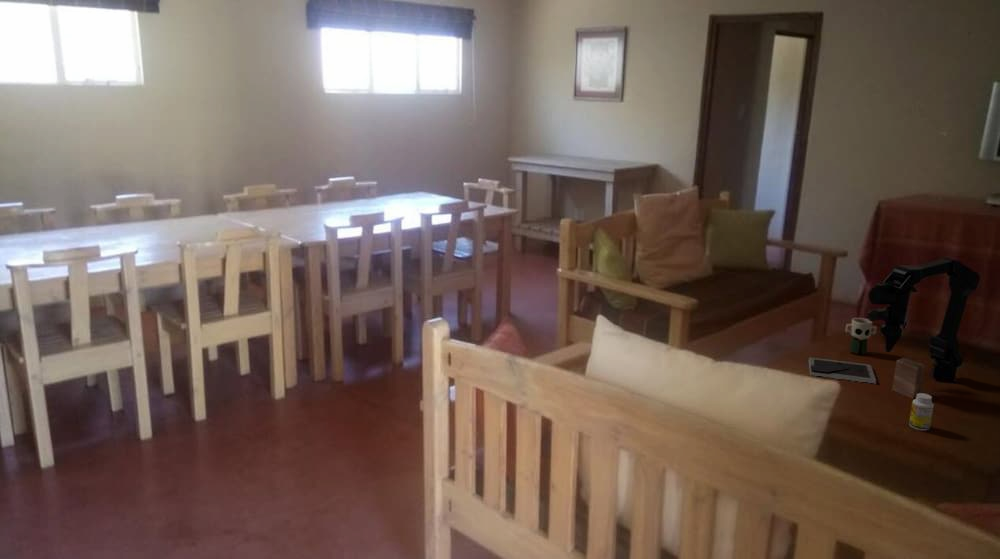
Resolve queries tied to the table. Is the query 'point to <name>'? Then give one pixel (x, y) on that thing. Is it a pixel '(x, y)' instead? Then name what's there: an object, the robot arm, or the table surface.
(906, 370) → the streaky grey slab
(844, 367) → the picture frame
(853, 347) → the character mug
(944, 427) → the table surface
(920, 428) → the supplement bottle
